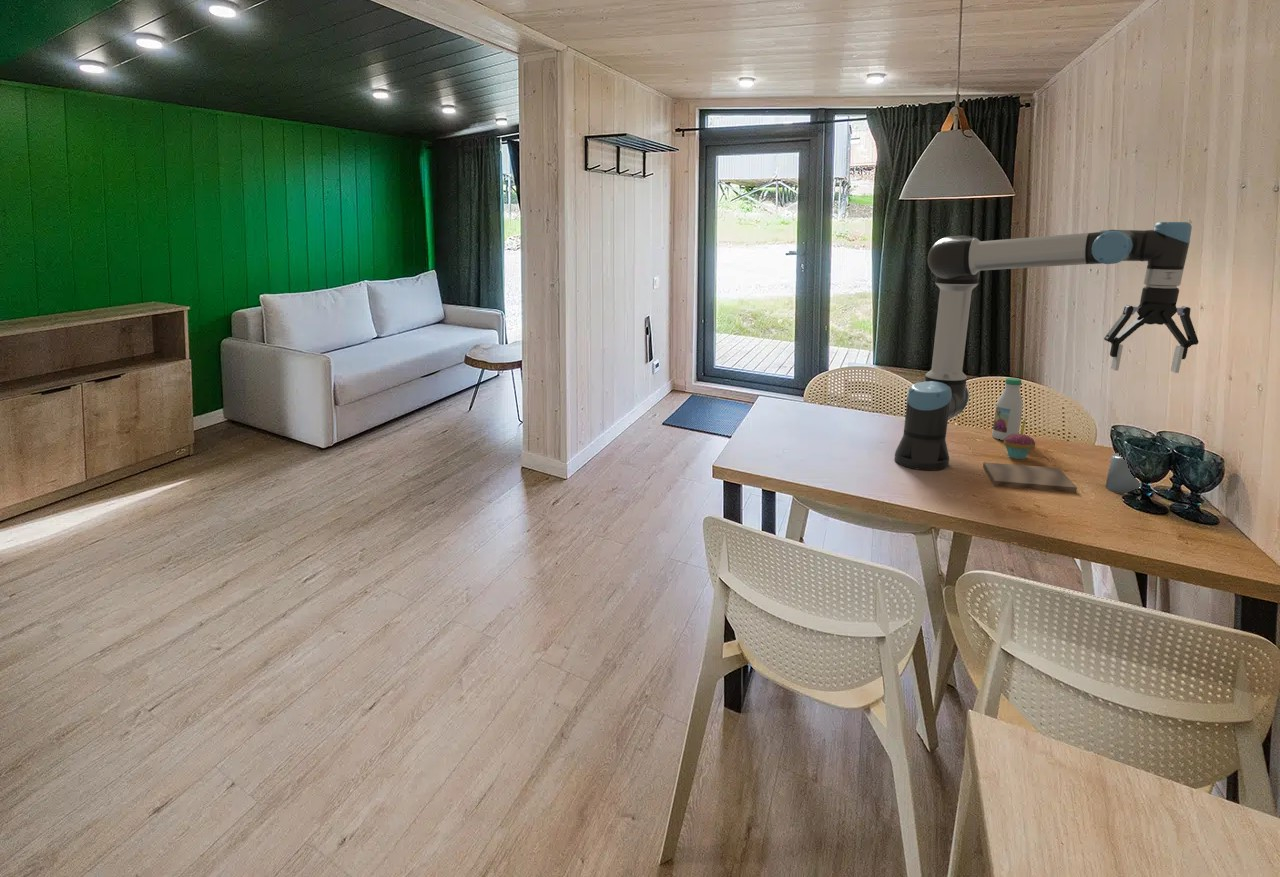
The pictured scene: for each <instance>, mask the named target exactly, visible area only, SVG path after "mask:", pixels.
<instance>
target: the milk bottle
mask: <svg viewBox="0 0 1280 877" xmlns="http://www.w3.org/2000/svg"><path fill="white" fill-rule="evenodd" d="M1004 382H1005V384H1004V385H1005V387H1004V390H1003V391H1002V393H1001V394H1000V396H999V398H998V400H997V402H996V407H995V412H994V419H993V425H992V433H991V436H993V437H992V438H994V439H996V440H999V439H1000V441H1004V439H1005V437H1007V436H1009V435H1011V434H1015V433H1016V434H1020V433H1019V432H1020V426H1021V421H1022V420H1021V419H1022V415H1023V414H1022V413H1023V406H1024V405H1023V404H1024V403H1023V397H1022V395H1021V391H1020V390H1021V388H1020V387H1021V386H1022V379H1021V378H1018V377H1017V378H1016V377H1007V378H1005V381H1004Z"/></svg>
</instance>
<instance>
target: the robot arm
mask: <svg viewBox="0 0 1280 877" xmlns="http://www.w3.org/2000/svg"><path fill="white" fill-rule="evenodd" d="M1192 229H1193V226H1192V224H1191V223H1190V222H1188V221H1159V222H1156V223H1155V225H1154V227H1153V229H1147V230H1146V229H1145V230H1143V229H1142V230H1137V229H1106V230H1105V229H1103V230H1100V231H1096V232H1084V233H1070V234H1058V235H1046V236H1035V237H1034V236H1033V237H1020V238H1006V239H995V240H993V239H992V240H983V241H981V240H980V239H978V238H977V237H974V236H971V235H965V234H964V235H954V236H953V235H952V236H945V237H943V238H940V239H939V240H937V241H936V242H935V243H933V245H932V247H930V249H929V251H928V255H927V266H928V268H929V270H930V271H931V273H932V274H934V275H935V282H934V284H935V285H936V287H938V289H939V295H938V303H937V304H938V305H937V315H936V322H935V323H936V324H935V332H934V342H933V351H932V352H933V353H932V362H931V369H930V370H929V371H928V372H926V373H925V375H924V376H925V377H924V381H920V382H915V383H914V384H912V385H910V387H908V388H909V389H908V393H907V396H906V407H905V416H904V427H903V434H902V437H901V440H900V441H899V444H898V445H897V446H896V447H897V448H896V450H895V452H894V461H895V462H896V463H897V464H899V466H900V465H901V466H904V467H907V468H910V469H915V470H922V471H940V470H943V469H944V470H945V469H946V468H948V467H949V465H950V455H949V450H948V446H947V441H946V440H947V439H946V438H947V430H948V422H949V420H951V419H952V418H955V417H957V416H958V415H960V414H962V412H963V410H965V409H966V407H967V405H968V402H969V396H970V395H969V390H968V388H967V379H968V376H967V375H966V374H965V373H964V372H963V366H964V359H965V353H966V352H965V350H966V341H967V336H968V335H967V333H968V325H969V318H970V308H971V301H972V293H973V292H972V291H973V290H974V288H976V287H977V286H978V285H979V283H980V282H979V281H980V274H981V271H992V270H993V271H996V270H1007V269H1008V270H1010V269H1026V268H1031V269H1032V268H1044V267H1063V266H1065V267H1066V266H1078V265H1080V266H1081V265H1082V266H1083V265H1102V264H1103V265H1104V264H1105V265H1113V264H1119V263H1121V262H1147V266H1146V270H1145V275H1144V280H1143V284H1144V285H1145V286H1144V287H1142V290H1141V296H1140V300H1139V304H1138V306H1133V305H1130V304H1129V305H1128V304H1126V305H1124V308H1123V311H1122V314H1121V315H1120V316H1119V318H1118V319H1117V320H1116V321H1115V323H1114V324H1113V325H1112V327H1111V328H1110V329H1109V331H1108V332H1107V333H1106V335H1105V336H1104V338H1103V339H1104V341H1105V342H1108V343H1110V345H1111V347H1110V351H1109V356H1110V357H1112V362H1111V368H1110V370H1111V369H1112V370H1114V371H1119V369H1120V365H1121V358H1122V353H1123V350H1124V349H1123V348H1124V345H1123V344H1121V343H1122V342H1124V341H1125V340H1126V339H1127V338H1128V337H1130V336H1131V335H1132V334H1133V333H1134V332H1135V331H1136V330H1138V329H1139V328H1141V327H1142V326H1144V325H1145V324H1146V325H1159V326H1163V325H1165V326H1166V327H1167V330H1169V332H1170V333H1171V334H1172V335H1173V337H1174V338H1175V339H1176V342H1178V344H1179V345H1175V347H1174V348H1175V349H1174V353H1173V357H1172V362H1171V367H1170V371H1171V372H1173V373H1175V374H1179V373H1180V368H1181V364H1182V360H1185V359H1186V358H1187V356H1188V350H1189V348H1191V347H1192V346H1194V345H1196V346H1197V345H1198V344H1199V339H1198V336H1197V333H1196V331H1195V327H1194V325H1193V322H1192V319H1191V307H1189V306H1185V305H1184V306H1183V305H1182V306H1180V307H1177V302H1178V299H1179V294H1180V289H1179V288H1178V287H1179V286H1181V285H1182V284H1181V283H1182V278H1183V274H1184V269H1185V264H1186V260H1187V255H1188V251H1189V246H1190V242H1191V233H1192ZM1135 313H1137V315H1138V316H1137V317H1136V318H1135V319H1134V320H1133V321H1132V322H1131V323H1130V324H1128V326H1127V327H1125V328H1124V326H1125V325H1126V324H1127V323H1128V321H1129V320H1130V318H1131V317H1132V316H1134V314H1135ZM1176 313H1177V315H1178V316H1179V319H1180V321H1181V325H1182V327H1183V330H1184V333H1185V335H1184V333H1183V332H1182V331H1181V330H1180V329H1179V327H1178V326H1177V324H1176V322H1175V320H1174V319H1173V318H1172V317H1174V315H1176ZM1123 328H1124V329H1123ZM1121 330H1122V331H1121ZM1185 336H1186V337H1185Z"/></svg>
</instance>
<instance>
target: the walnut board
mask: <svg viewBox="0 0 1280 877" xmlns="http://www.w3.org/2000/svg"><path fill="white" fill-rule="evenodd" d="M982 468H983V470H984V472H985V473H986V475H987V477H988V478H989V480H990V481H991V483H992V485H993V486H994V487H1001V488H1002V487H1003V488H1015V489H1016V488H1017V489H1023V490H1038V491H1050V492H1052V491H1053V492H1062V493H1074V494H1077V489H1078V487H1077V486H1076V485H1075V484H1074V482H1073V481H1072V480H1071V479H1070V478H1069V477H1068V476H1067V475H1066V473H1065V472H1064V471H1063V470H1062V469H1061V467H1052V466H1051V467H1048V466H1039V465H1037V466H1036V465H1025V464H1010V463H1008V464H1007V463H999V462H984V461H983V463H982Z"/></svg>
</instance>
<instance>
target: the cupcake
mask: <svg viewBox="0 0 1280 877" xmlns="http://www.w3.org/2000/svg"><path fill="white" fill-rule="evenodd" d="M1025 426H1026V417H1024V419H1023V420H1022V426H1021V430H1020V433H1019V434H1016V433H1015V434H1011V435H1009V436H1007V437H1005V439H1004V440H1003V443H1002V444H1003V445H1004V446H1005V448H1006V451H1007V456H1008V457H1009V458H1011V459H1017V460H1024V459H1026V458H1027V455H1028V454H1029V453H1030V451H1031V450H1032V449H1035V448H1036V442H1035V440H1034V439H1033V438H1032V437H1031V436H1030V435H1026V434H1024V431H1025Z"/></svg>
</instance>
